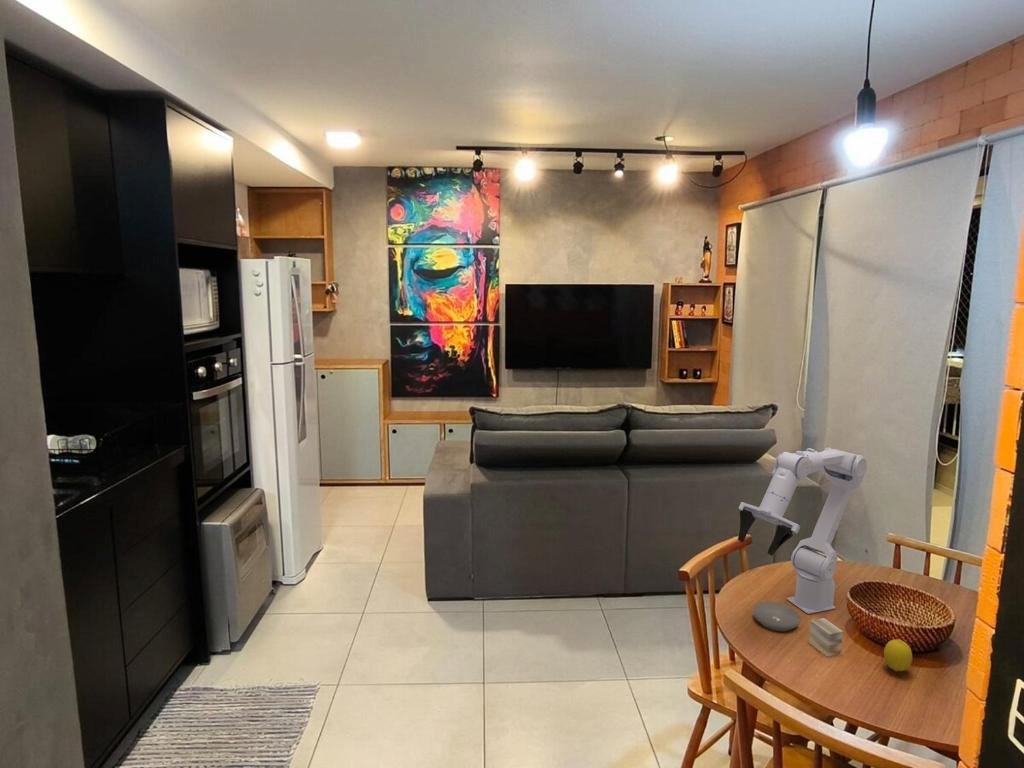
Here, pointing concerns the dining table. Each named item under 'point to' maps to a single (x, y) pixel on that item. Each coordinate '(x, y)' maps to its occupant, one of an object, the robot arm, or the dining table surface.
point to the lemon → (898, 655)
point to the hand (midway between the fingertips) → (754, 547)
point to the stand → (776, 616)
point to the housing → (825, 637)
